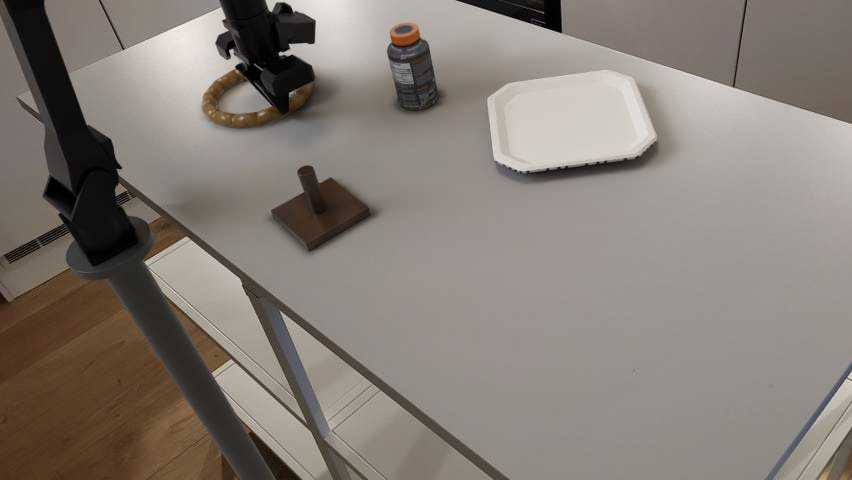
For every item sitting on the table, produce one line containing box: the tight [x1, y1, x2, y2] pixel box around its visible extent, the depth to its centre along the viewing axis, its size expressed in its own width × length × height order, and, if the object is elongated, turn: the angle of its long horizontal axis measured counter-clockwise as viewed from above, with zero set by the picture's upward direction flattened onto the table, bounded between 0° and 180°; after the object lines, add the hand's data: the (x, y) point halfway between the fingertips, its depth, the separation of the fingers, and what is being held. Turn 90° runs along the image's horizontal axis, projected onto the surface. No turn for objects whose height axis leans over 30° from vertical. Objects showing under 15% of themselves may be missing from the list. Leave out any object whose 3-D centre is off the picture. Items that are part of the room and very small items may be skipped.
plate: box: [486, 69, 658, 174], centre depth 100 cm, size 21×21×2 cm
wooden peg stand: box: [270, 164, 371, 252], centre depth 92 cm, size 9×9×7 cm
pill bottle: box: [386, 22, 439, 111], centre depth 107 cm, size 6×6×11 cm
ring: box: [201, 68, 315, 129], centre depth 116 cm, size 17×17×2 cm
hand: (281, 110), depth 111 cm, fingers closed on ring, 2 cm apart
